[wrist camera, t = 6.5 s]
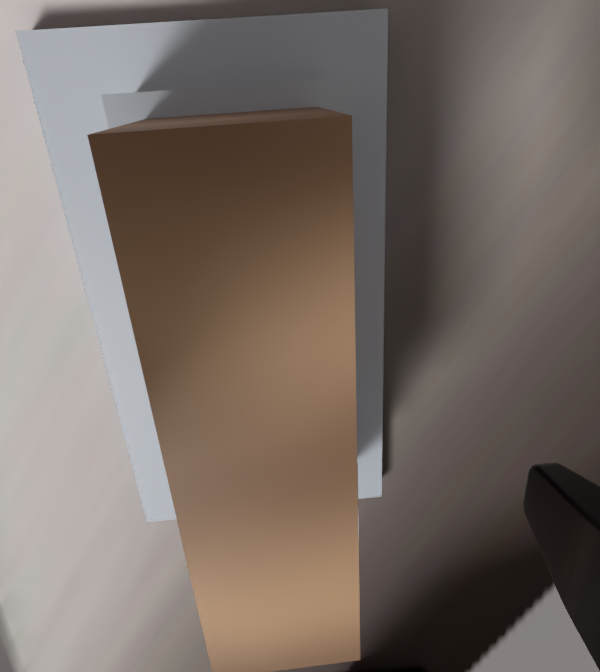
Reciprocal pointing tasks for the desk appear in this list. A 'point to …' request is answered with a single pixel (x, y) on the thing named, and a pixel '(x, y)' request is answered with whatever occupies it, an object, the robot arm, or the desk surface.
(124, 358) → the pale grey flat fixture
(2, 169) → the desk surface
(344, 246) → the walnut bar
